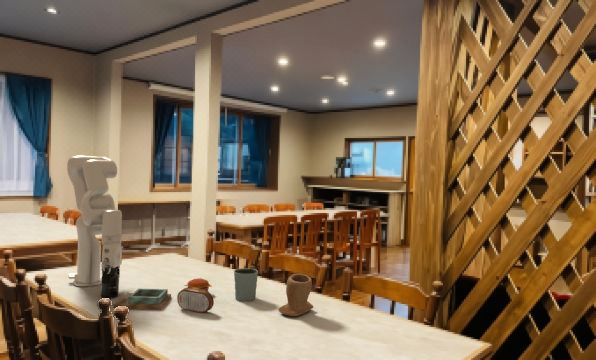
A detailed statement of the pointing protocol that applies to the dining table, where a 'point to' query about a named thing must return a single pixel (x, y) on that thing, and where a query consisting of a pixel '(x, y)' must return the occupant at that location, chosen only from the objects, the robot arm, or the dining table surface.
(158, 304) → the socket board
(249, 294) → the grey cup
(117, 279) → the supplement bottle
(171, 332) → the dining table surface
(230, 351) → the dining table surface
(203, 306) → the tin
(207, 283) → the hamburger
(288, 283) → the stone cup
